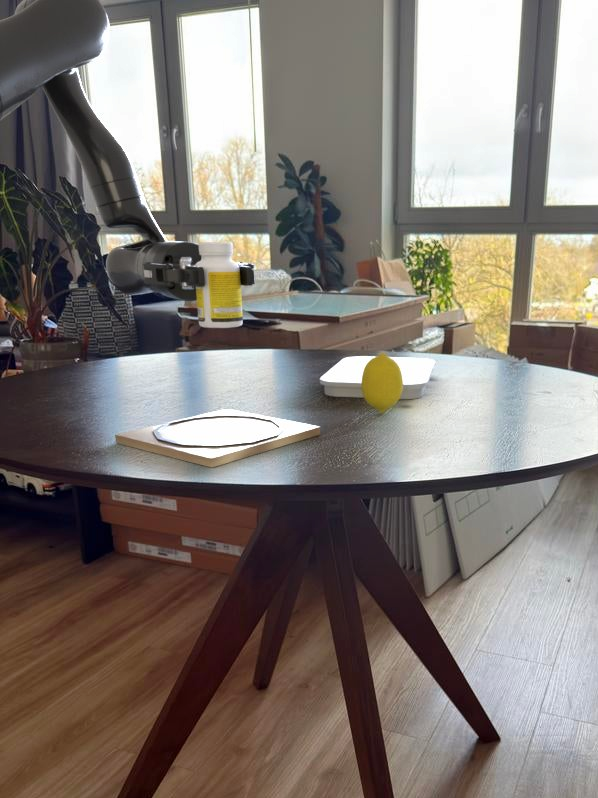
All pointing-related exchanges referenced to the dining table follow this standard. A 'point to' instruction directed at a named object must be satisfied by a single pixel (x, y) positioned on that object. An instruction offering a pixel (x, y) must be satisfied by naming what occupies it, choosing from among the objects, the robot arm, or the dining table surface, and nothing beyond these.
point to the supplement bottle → (219, 287)
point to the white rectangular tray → (350, 369)
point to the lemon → (382, 382)
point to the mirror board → (217, 436)
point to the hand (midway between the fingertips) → (226, 276)
